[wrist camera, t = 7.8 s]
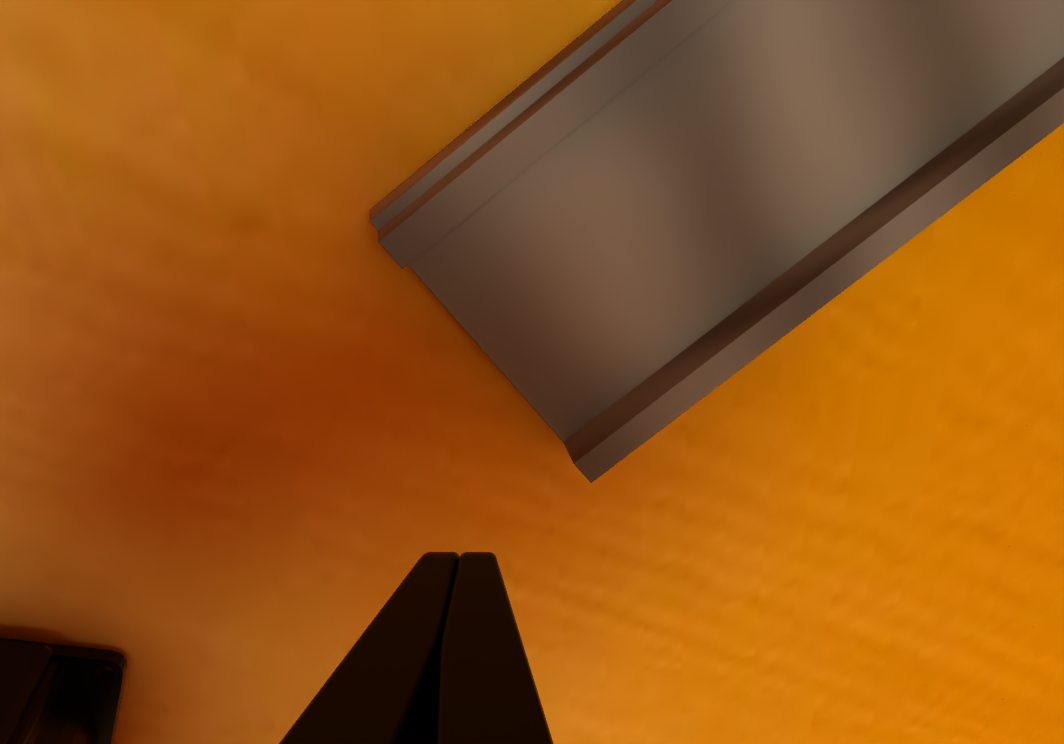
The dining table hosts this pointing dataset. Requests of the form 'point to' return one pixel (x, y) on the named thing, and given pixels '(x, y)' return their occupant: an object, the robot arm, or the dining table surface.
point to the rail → (710, 188)
